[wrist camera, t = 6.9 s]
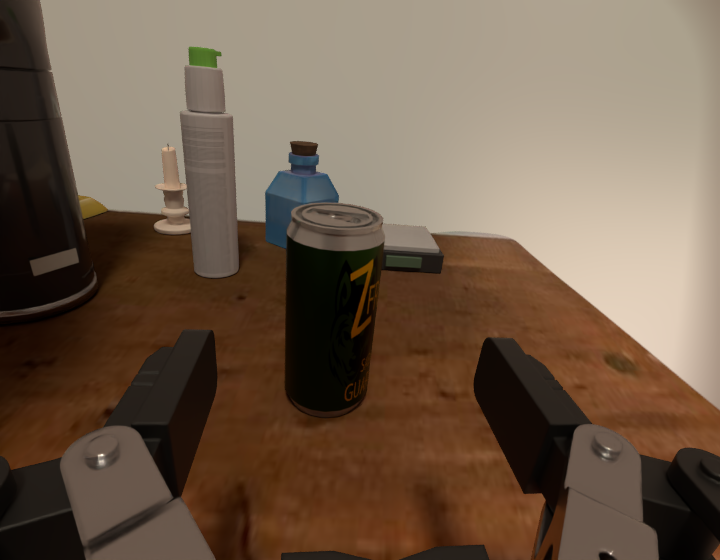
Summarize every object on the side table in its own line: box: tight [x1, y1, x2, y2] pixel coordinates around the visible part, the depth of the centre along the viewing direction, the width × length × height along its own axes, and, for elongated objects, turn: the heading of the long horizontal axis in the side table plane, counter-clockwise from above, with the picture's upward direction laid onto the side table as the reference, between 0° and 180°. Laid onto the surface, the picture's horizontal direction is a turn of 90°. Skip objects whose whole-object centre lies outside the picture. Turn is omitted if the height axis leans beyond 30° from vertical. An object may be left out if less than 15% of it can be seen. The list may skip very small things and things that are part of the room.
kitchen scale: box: [381, 224, 444, 273], centre depth 49 cm, size 9×9×3 cm
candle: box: [154, 145, 191, 235], centre depth 49 cm, size 5×5×10 cm
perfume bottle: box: [265, 141, 339, 249], centre depth 49 cm, size 6×6×12 cm
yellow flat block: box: [78, 195, 108, 219], centre depth 52 cm, size 9×9×2 cm
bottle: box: [180, 47, 239, 278], centre depth 37 cm, size 4×4×20 cm
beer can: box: [285, 202, 385, 418], centre depth 24 cm, size 5×5×12 cm
